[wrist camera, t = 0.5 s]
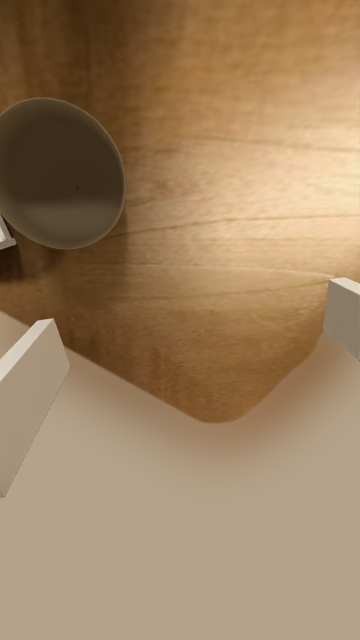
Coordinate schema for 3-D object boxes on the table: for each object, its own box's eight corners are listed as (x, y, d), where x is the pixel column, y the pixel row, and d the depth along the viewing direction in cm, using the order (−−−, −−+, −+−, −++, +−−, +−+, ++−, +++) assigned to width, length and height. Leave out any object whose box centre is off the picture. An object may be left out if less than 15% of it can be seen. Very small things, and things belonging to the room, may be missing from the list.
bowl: (154, 199, 35) (152, 200, 26) (78, 256, 38) (53, 275, 28) (87, 97, 31) (57, 55, 21) (5, 168, 33) (-53, 157, 24)
